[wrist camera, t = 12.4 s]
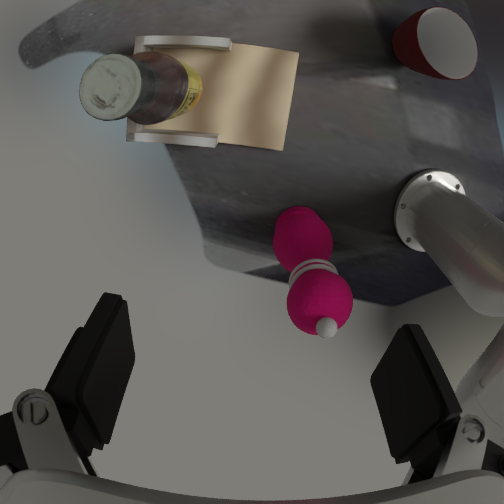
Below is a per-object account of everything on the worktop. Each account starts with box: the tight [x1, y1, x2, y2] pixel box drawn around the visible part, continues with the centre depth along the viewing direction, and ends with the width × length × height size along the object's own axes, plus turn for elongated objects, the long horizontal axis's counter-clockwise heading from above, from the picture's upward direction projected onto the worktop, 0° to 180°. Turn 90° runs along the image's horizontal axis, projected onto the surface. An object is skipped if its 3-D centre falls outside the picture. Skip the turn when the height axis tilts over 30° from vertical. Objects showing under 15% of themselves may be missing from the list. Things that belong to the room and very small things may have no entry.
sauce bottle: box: [79, 51, 202, 125], centre depth 23 cm, size 6×6×20 cm
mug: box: [392, 7, 478, 80], centre depth 24 cm, size 10×8×10 cm
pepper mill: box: [273, 206, 353, 338], centre depth 33 cm, size 7×7×20 cm
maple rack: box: [126, 36, 299, 151], centre depth 30 cm, size 18×12×5 cm, turn 82°
